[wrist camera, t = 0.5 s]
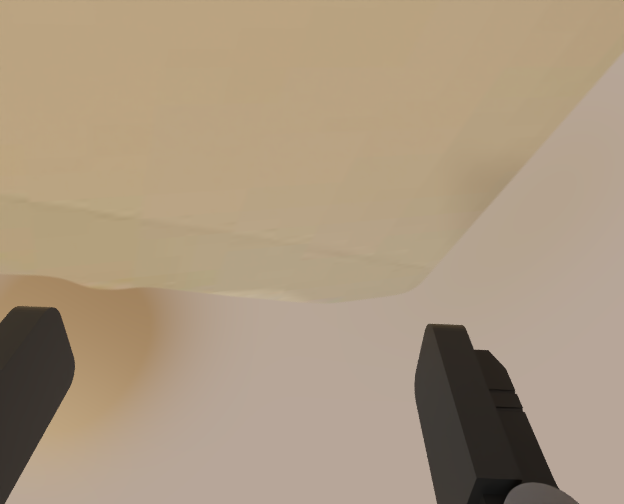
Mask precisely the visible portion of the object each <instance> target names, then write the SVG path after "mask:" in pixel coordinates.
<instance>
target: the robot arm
mask: <svg viewBox="0 0 624 504" xmlns="http://www.w3.org/2000/svg"><path fill="white" fill-rule="evenodd" d="M74 370H75V362H74V356H73V353H72V350H71V347H70V343H69V340H68V337H67V334H66V331H65V327H64V324H63V321H62V318H61V315H60V313H59V311H58V310H57V309H56V308H52V307H27V306H17V307H15V308H13V309H12V310H11V311H10V312H9V313H8V314H7V316H6V317H5V318H4V319H3V320H2V322H1V323H0V504H5V502H6V500H7V498H8V497H9V495H10V493H11V491H12V489H13V488H14V486H15V484H16V482H17V481H18V479H19V477H20V475H21V473H22V472H23V470H24V468H25V466H26V464H27V463H28V461H29V459H30V457H31V456H32V454H33V452H34V450H35V448H36V447H37V445H38V443H39V441H40V439H41V438H42V436H43V434H44V432H45V430H46V428H47V427H48V425H49V423H50V422H51V420H52V418H53V416H54V414H55V413H56V411H57V409H58V407H59V406H60V404H61V402H62V400H63V398H64V397H65V395H66V393H67V391H68V389H69V388H70V385H71V383H72V380H73V376H74ZM415 398H416V404H417V409H418V414H419V419H420V423H421V428H422V433H423V438H424V443H425V447H426V452H427V457H428V462H429V466H430V471H431V476H432V481H433V486H434V491H435V495H436V500H437V504H579V503H578V502H576V501H575V500H574V499H573V498H572V497H571V496H569V495H567V494H566V493H564V492H563V491H561V490H560V489H559V488H558V486H557V484H556V482H555V481H554V478H553V476H552V474H551V472H550V469H549V467H548V465H547V462H546V460H545V458H544V456H543V453H542V451H541V449H540V446H539V444H538V442H537V439H536V437H535V435H534V432H533V430H532V428H531V426H530V423H529V421H528V419H527V416H526V414H525V412H523V410H522V408H523V407H522V405H521V403H520V400H519V398H518V396H517V394H515V389H514V387H513V384H512V382H511V380H510V377H509V375H508V373H507V370H506V369H505V368H504V366H503V365H502V364H501V363H500V362H499V361H498V360H497V359H496V358H495V357H494V356H493V355H492V354H491V353H490V352H489V351H488V350H474V349H473V346H472V344H471V341H470V339H469V336H468V334H467V331H466V328H465V327H464V326H463V325H444V324H428V325H427V326H426V329H425V333H424V337H423V342H422V346H421V351H420V355H419V360H418V364H417V369H416V374H415Z"/></svg>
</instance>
